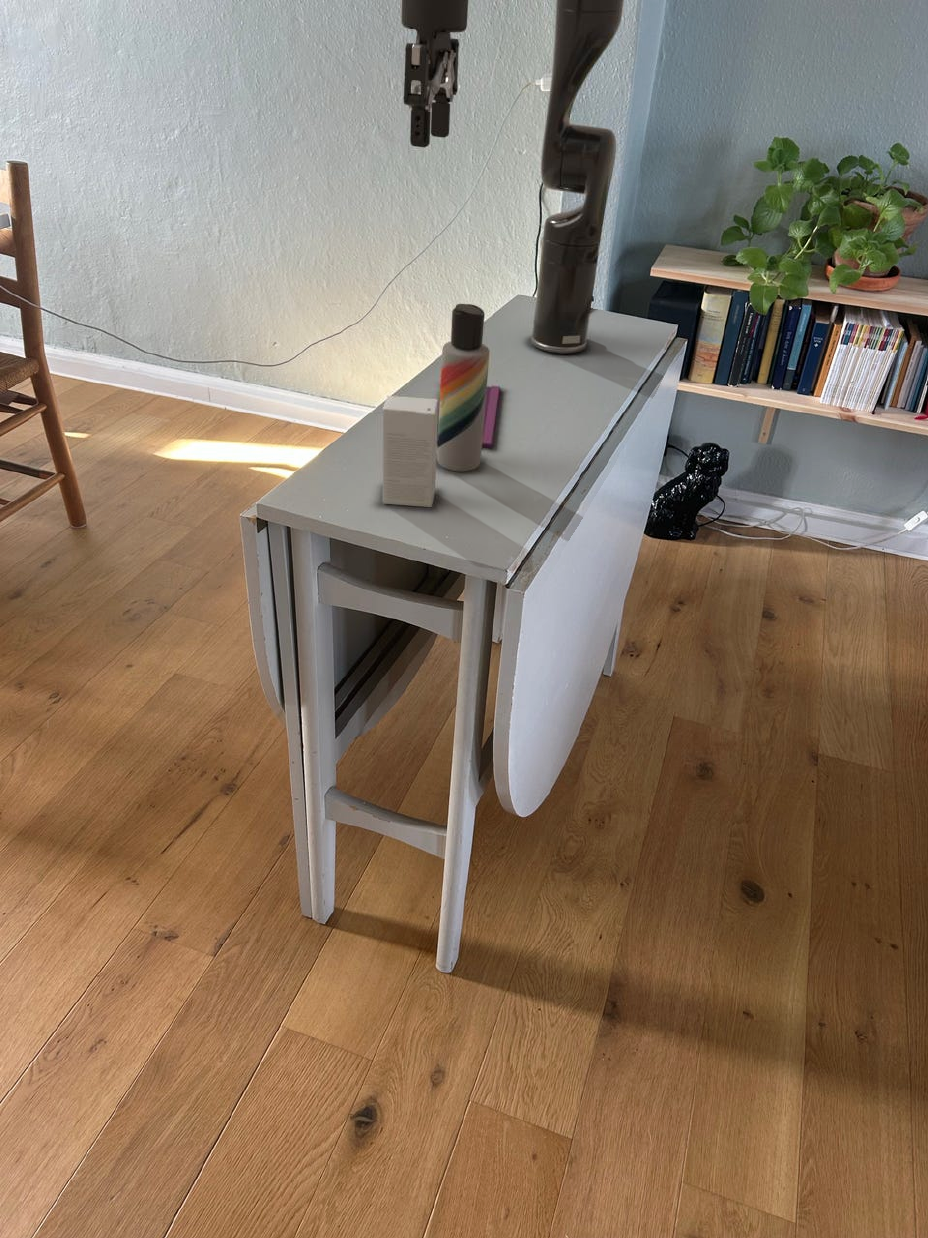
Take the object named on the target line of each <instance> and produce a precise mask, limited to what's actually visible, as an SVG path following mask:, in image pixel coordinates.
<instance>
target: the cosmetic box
mask: <svg viewBox="0 0 928 1238" xmlns="http://www.w3.org/2000/svg"><path fill="white" fill-rule="evenodd" d="M381 414H382V415H381V417H382V420H381V421H382V422H381V423H382V503H383V504H385V505H395V506H396V505H397V506H411V507H425V508H432V507H433V503H434V499H435V493H436V481H437V480H436V479H437V478H436V475H437V444H438V443H437V424H438V420H439V400H438V398H424V397H413V396H412V397H410V396H397V395H387V397H386V399H385V402H384V405H383V407H382V410H381Z"/></svg>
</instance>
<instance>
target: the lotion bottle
mask: <svg viewBox="0 0 928 1238" xmlns="http://www.w3.org/2000/svg"><path fill="white" fill-rule="evenodd" d="M484 327H485V311H484V309H482V308H481V307H479V306H478V305H475V304H472V303H471V304H470V303H457V304H455V307H454V308H453V309H452V311H451V327H450V329H451V330H450V341H448V342H446V343H444V344H443V346H442V348H441V365H440V366H441V367H440V385H439V386H440V388H439V402H438V420H439V423H438V422H437V424H438V443H437V450H436V462H437V463H438V465H439V466H441V467H442V468H443V469H445V470H447V471H453V472H470V471H473V470H475V469H477V468H478V467H479V466H480V465H481V459H482V448H483V447H482V439H483V427H484V415H485V403H486V390H487V387H488V376H489V365H490V349H489V347H488V346H487V345H486V344H484V343H483V337H484Z"/></svg>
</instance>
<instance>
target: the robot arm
mask: <svg viewBox="0 0 928 1238" xmlns="http://www.w3.org/2000/svg"><path fill="white" fill-rule="evenodd" d="M555 1H556V2H555V21H554V37H553V40H554V41H553V54H552V55H553V56H552V68H551V80H550V88H549V95H548V97H549V98H548V103H547V110H546V118H545V126H544V132H543V140H542V147H541V158H540V177H541V182H542V184H543V186H544V187H545V188H546V189H549V190H551V191H552V190H553V191H557V192H558V191H559V192H564V193H571V194H578V195H579V194H580V195H584V200H583V203H582V204H580V205H579V206H577V207H575V208H573V209H570V210H567V211H562V212H558V213H554V214H552V215H550V216H548V217H546V219H545V221H544V224H543V233H542V242H541V251H540V264H539V270H538V271H539V272H538V280H537V288H536V290H537V291H536V297H535V298H536V299H535V307H534V308H535V309H534V315H533V318H534V319H533V327H532V334H531V338H530V343H531V345H533V346H534V347H535V348H536V349H539V350H541V351H544V352H548V353H552V354H564V355H566V354H567V355H568V354H576V353H577V354H578V353H580V352H582V351H584V350H585V349H586V347H587V343H588V342H587V341H588V340H587V336H588V330H589V324H590V316H591V309H592V304H593V302H594V301H595V296H594V289H595V284H596V283H595V282H596V277H597V268H598V261H599V255H600V247H601V240H602V233H603V226H604V223H605V222H604V220H605V215H606V207H607V202H608V197H609V190H610V186H611V182H612V176H613V171H614V166H615V160H616V151H617V140H616V135H615V133H614V131H613V130H611V129H609V128H604V127H598V126H591V125H582V124H574V123H571V114H572V111H573V106H574V103H575V100H576V98H577V96H578V94H579V91H580V89H581V88H582V87H583V84H584V82H585V81H586V79H587V77H588V75H589V74H590V72H591V71H592V69H593V68H594V67H595V65H596V64H597V63H598V61H599V59H600V58H601V57H602V55H603V54H604V52H605V51H606V50H607V48H608V46H609V45H610V44H611V42H612V40H613V39H614V37H615V36H616V33H617V31H618V30H619V27H620V25H621V22H622V18H623V9H624V3H625V0H555ZM468 12H469V0H401V24H402V26H403V28H405V29H408V30H415V31H416V37H415V43H411V42H407V43H406V44H405V48H404V51H405V52H404V53H405V55H404V80H403V82H404V83H403V104H404V105H405V106H408V110H410V134H409V136H410V137H409V138H410V139H409V140H410V141H409V142H410V145H411V146H412V147H417V148H427V147H429V146H430V143H431V136H432V137H435V138H436V137H437V138H447V137H448V136H449V135H450V124H451V123H450V122H451V121H450V119H451V103H453V100H454V98H455V97H454V96H457V93H458V76H459V51H460V50H459V49H460V41H459V39H458V38H452V37H451V33H463V32H465V31H466V29H467V28H468V14H469V13H468Z"/></svg>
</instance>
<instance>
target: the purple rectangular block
mask: <svg viewBox="0 0 928 1238" xmlns="http://www.w3.org/2000/svg"><path fill="white" fill-rule="evenodd" d="M501 389H502V388H501V387H500V385H499V386H498V385H491V386H487V390H486V403H485V415H484V427H483V439H482V448H485V449H493V448H494V441H495V434H496V428H497V427H496V426H497V420H498V419H497V418H498V412H499V404H500V397H501V396H500V395H501ZM438 423H439V419H438V420H437V444H438Z"/></svg>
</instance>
